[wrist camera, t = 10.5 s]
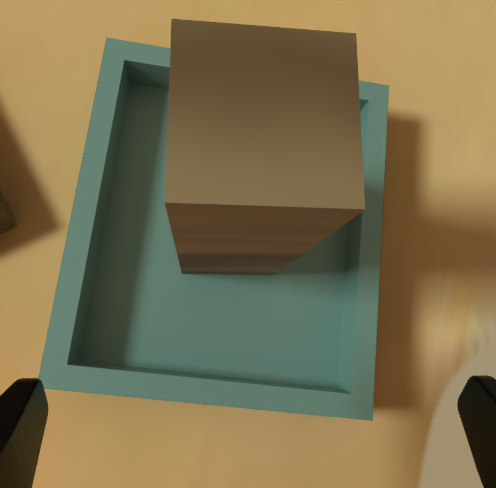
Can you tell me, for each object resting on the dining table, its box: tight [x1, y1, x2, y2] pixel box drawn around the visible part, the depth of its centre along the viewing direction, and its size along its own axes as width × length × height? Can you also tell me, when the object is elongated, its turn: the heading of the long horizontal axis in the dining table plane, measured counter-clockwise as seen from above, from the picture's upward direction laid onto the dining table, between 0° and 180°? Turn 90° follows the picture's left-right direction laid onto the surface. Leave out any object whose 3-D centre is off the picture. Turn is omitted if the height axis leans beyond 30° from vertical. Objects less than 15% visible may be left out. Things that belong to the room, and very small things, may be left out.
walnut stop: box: [165, 19, 365, 275], centre depth 16 cm, size 4×4×12 cm
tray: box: [38, 38, 389, 421], centre depth 21 cm, size 16×14×3 cm
